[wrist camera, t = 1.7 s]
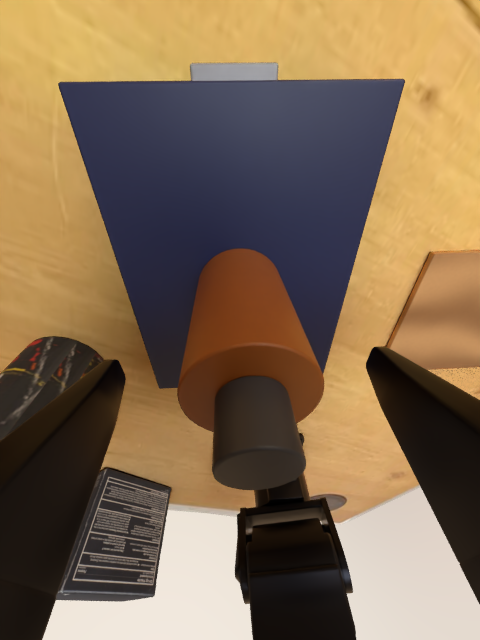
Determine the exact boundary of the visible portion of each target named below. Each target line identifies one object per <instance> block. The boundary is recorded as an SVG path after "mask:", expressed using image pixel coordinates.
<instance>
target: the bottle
mask: <svg viewBox="0 0 480 640" xmlns="http://www.w3.org/2000/svg"><path fill="white" fill-rule="evenodd" d="M323 391H324V377H323V374H322V371H321V369H320V367H319V364H318V362H317V360H316V357H315V355H314V353H313V351H312V348H311V346H310V344H309V341H308V339H307V337H306V335H305V332H304V330H303V328H302V325H301V323H300V321H299V318H298V316H297V314H296V312H295V309H294V307H293V305H292V302H291V300H290V298H289V296H288V293H287V291H286V289H285V286H284V284H283V282H282V280H281V277H280V275H279V273H278V270H277V268H276V267H275V265H274V264H273V263H272V261H271V260H270V259H268V258H267V257H266V256H264V255H263V254H261V253H259V252H257V251H254V250H250V249H242V248H238V249H231V250H227V251H224V252H221V253H220V254H218V255H216V256H215V257H213V258H212V259H211V260H210V261H209V262H208V263H207V264H206V265H205V266H204V268H203V270H202V272H201V274H200V277H199V281H198V286H197V291H196V296H195V302H194V307H193V312H192V317H191V322H190V327H189V332H188V337H187V342H186V348H185V353H184V358H183V363H182V368H181V373H180V378H179V383H178V390H177V396H178V401H179V404H180V407H181V409H182V410H183V412H184V413H185V415H186V416H187V417H188V418H189V419H190V420H192V421H193V422H194V423H196V424H197V425H199V426H201V427H203V428H204V429H207V430H209V431H212V432H214V434H213V460H212V472H213V475H214V477H215V479H216V480H217V481H218V482H219V483H221V484H223V485H225V486H228V487H231V488H236V489H242V490H262V489H269V488H274V487H278V486H281V485H284V484H286V483H289V482H291V481H293V480H295V479H296V478H298V477H299V476H300V475H301V474H302V473H303V472H304V470H305V467H306V459H305V455H304V451H303V447H302V444H301V440H300V436H299V432H298V428H297V425H296V423H298V422H299V421H301V420H303V419H304V418H305V417H307V416H308V415H309V414H310V413H311V412H312V411H313V410H314V409H315V408H316V406H317V405H318V403H319V402H320V400H321V398H322V395H323Z"/></svg>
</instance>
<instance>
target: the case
mask: <svg viewBox="0 0 480 640" xmlns="http://www.w3.org/2000/svg"><path fill="white" fill-rule="evenodd" d="M190 72H191V81H117V82H60V83H58V86H59V89H60V92H61V95H62V98H63V101H64V104H65V107H66V110H67V113H68V116H69V119H70V122H71V125H72V128H73V131H74V134H75V137H76V140H77V143H78V146H79V149H80V152H81V155H82V158H83V161H84V164H85V167H86V170H87V173H88V176H89V179H90V182H91V185H92V188H93V191H94V194H95V197H96V200H97V203H98V206H99V209H100V212H101V215H102V218H103V221H104V224H105V227H106V230H107V233H108V236H109V239H110V242H111V245H112V248H113V251H114V254H115V257H116V260H117V263H118V266H119V269H120V272H121V275H122V278H123V281H124V284H125V287H126V290H127V293H128V296H129V299H130V302H131V305H132V308H133V311H134V314H135V317H136V320H137V323H138V326H139V329H140V332H141V335H142V338H143V341H144V344H145V347H146V350H147V353H148V356H149V359H150V362H151V365H152V368H153V371H154V374H155V377H156V380H157V383H158V386H159V388H160V389H162V388H178V383H179V378H180V373H181V368H182V363H183V358H184V353H185V348H186V342H187V337H188V332H189V327H190V322H191V317H192V312H193V307H194V302H195V296H196V291H197V286H198V281H199V277H200V274H201V272H202V270H203V268H204V266H205V265H206V264H207V263H208V262H209V261H210V260H211V259H212V258H213V257H215V256H216V255H218V254H220V253H221V252H224V251H227V250H231V249H238V248H242V249H250V250H254V251H257V252H259V253H261V254H263V255H264V256H266V257H267V258H268V259H270V260H271V261H272V263H273V264H274V265H275V267H276V268H277V270H278V273H279V275H280V277H281V280H282V282H283V284H284V286H285V289H286V291H287V293H288V296H289V298H290V300H291V302H292V305H293V307H294V309H295V312H296V314H297V316H298V318H299V321H300V323H301V325H302V328H303V330H304V332H305V335H306V337H307V339H308V341H309V344H310V346H311V348H312V351H313V353H314V355H315V357H316V360H317V362H318V364H319V367H320V369H321V371H322V374H323V373H324V369H325V366H326V362H327V358H328V355H329V351H330V348H331V344H332V340H333V337H334V333H335V330H336V326H337V323H338V319H339V315H340V312H341V308H342V305H343V301H344V298H345V294H346V290H347V287H348V283H349V280H350V276H351V273H352V269H353V265H354V262H355V258H356V255H357V251H358V247H359V244H360V240H361V237H362V233H363V230H364V226H365V222H366V219H367V215H368V212H369V208H370V205H371V201H372V197H373V194H374V190H375V187H376V183H377V180H378V176H379V172H380V169H381V165H382V162H383V158H384V155H385V151H386V147H387V144H388V140H389V137H390V133H391V129H392V126H393V122H394V119H395V115H396V112H397V108H398V104H399V101H400V97H401V94H402V90H403V87H404V83H405V80H403V79H344V80H278V63H192V64H190Z"/></svg>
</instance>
